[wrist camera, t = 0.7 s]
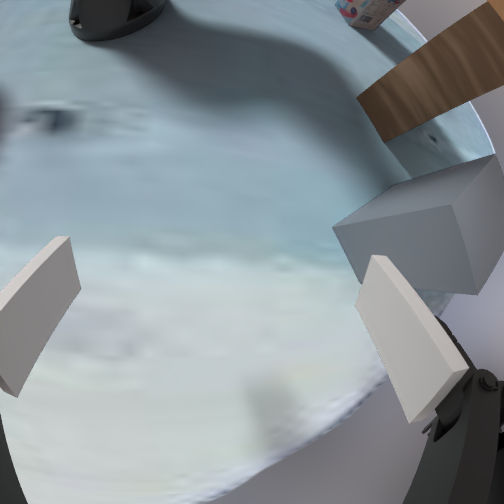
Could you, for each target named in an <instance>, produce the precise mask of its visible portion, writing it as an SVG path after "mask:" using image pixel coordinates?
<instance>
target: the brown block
mask: <svg viewBox="0 0 504 504" xmlns="http://www.w3.org/2000/svg"><path fill="white" fill-rule="evenodd" d="M487 1H488V2H489V3H490V4H491V6H492V7H493V8H494V9H495V11H496V12H497V13H498V15H499V16H500V17H501V19H502V20H503V21H504V0H487Z"/></svg>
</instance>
